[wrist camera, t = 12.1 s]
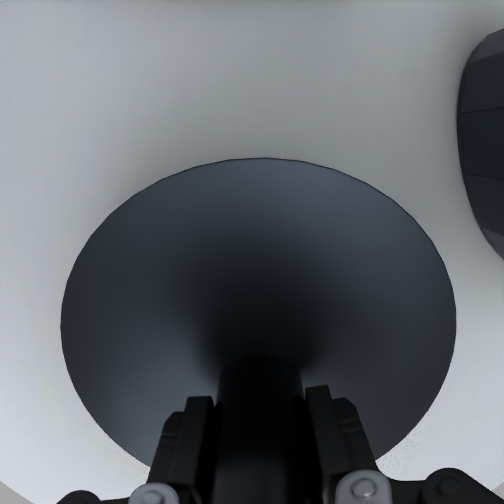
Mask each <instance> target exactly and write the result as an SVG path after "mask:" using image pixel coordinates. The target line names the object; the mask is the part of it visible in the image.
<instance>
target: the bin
mask: <svg viewBox="0 0 504 504" xmlns="http://www.w3.org/2000/svg"><path fill="white" fill-rule="evenodd" d="M457 130H458V146H459V155H460V163H461V168H462V173H463V179H464V183H465V187H466V191H467V195H468V199H469V202H470V204H471V207H472V210H473V213H474V216H475V218H476V220H477V222H478V224H479V227H480V229H481V231H482V232H483V234H484V236H485V237H486V239H487V241H488V242H489V244H490V245H491V246H492V247H493V249H494V250H495V251H496V252H497V253H498V254H499V255H500V256H501V257H502V258H503V260H504V29H502V30H499V31H497V32H494V33H492V34H490V35H488V36H487V37H486V38H485V39H484V40H483V41H482V42H480V44H479V45H478V46H477V47H476V48H475V49H474V51H473V52H472V54H471V56H470V58H469V60H468V62H467V64H466V67H465V70H464V73H463V76H462V81H461V85H460V90H459V99H458V114H457Z"/></svg>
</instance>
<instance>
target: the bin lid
mask: <svg viewBox="0 0 504 504" xmlns="http://www.w3.org/2000/svg"><path fill="white" fill-rule="evenodd" d="M60 329H61V340H62V350H63V354H64V358H65V362H66V366H67V370H68V373H69V375H70V378H71V380H72V383H73V385H74V388H75V390H76V392H77V394H78V395H79V397H80V399H81V401H82V403H83V404H84V406H85V408H86V409H87V410H88V412H89V413H90V415H91V416H92V417H93V419H94V420H95V421H96V423H97V424H98V425H99V426H100V427H101V428H102V429H103V430H104V432H105V433H106V434H107V435H108V436H109V437H110V438H111V439H112V440H113V441H114V442H116V443H117V444H118V445H119V446H120V447H121V448H123V449H124V450H125V451H126V452H128V453H129V454H130V455H132V456H133V457H135V458H136V459H137V460H139V461H140V462H142V463H144V464H145V465H147V466H149V467H151V466H152V462H153V459H154V455H155V452H156V449H157V446H158V442H159V439H160V436H161V432H162V429H163V426H164V423H165V421H166V420H167V419H168V418H169V417H170V415H171V414H172V413H173V412H174V411H184V409H185V405H186V401H187V398H188V397H189V396H211V397H212V399H213V402H214V406H215V409H214V416H213V422H212V429H211V436H210V443H209V449H208V456H207V463H206V470H205V477H204V484H203V491H202V498H201V504H324V501H323V495H322V491H321V485H320V479H319V473H318V468H317V462H316V457H315V451H314V446H313V440H312V435H311V429H310V424H309V419H308V413H307V408H306V403H305V388H306V387H313V386H320V385H328V387H329V390H330V393H331V396H332V399H337V398H342V397H346V398H347V399H348V400H349V401H350V402H351V403H353V404H354V405H355V406H356V409H357V412H358V414H359V417H360V421H361V423H362V425H363V429H364V431H365V434H366V436H367V439H368V442H369V445H370V448H371V451H372V453H373V456H374V459H375V461H376V460H377V459H379V458H380V457H381V456H383V455H384V454H386V453H387V452H388V451H390V450H391V449H392V448H393V447H395V446H396V445H397V444H398V443H399V442H400V441H402V440H403V439H404V438H405V437H406V436H407V435H408V434H409V433H410V432H411V431H412V429H413V428H414V427H415V426H416V425H417V424H418V423H419V421H420V420H421V419H422V418H423V416H424V415H425V414H426V412H427V411H428V410H429V408H430V407H431V405H432V403H433V402H434V400H435V398H436V396H437V395H438V393H439V391H440V389H441V387H442V385H443V382H444V380H445V378H446V375H447V373H448V370H449V366H450V363H451V359H452V356H453V352H454V345H455V338H456V306H455V300H454V294H453V289H452V285H451V282H450V279H449V276H448V273H447V270H446V267H445V265H444V262H443V260H442V258H441V257H440V255H439V253H438V251H437V249H436V247H435V246H434V244H433V242H432V240H431V239H430V238H429V237H428V235H427V234H426V233H425V232H424V230H423V229H422V228H421V226H420V225H419V224H418V223H417V222H416V220H415V219H414V218H413V217H412V216H411V215H409V214H408V213H407V212H406V211H405V210H404V209H403V208H402V207H401V206H399V205H398V204H397V203H396V202H395V201H394V200H393V199H391V198H389V197H388V196H386V195H385V194H383V193H382V192H380V191H379V190H377V189H375V188H374V187H372V186H371V185H369V184H367V183H366V182H363V181H361V180H359V179H357V178H354V177H352V176H350V175H347V174H345V173H343V172H340V171H338V170H335V169H331V168H328V167H324V166H320V165H316V164H312V163H308V162H304V161H297V160H288V159H277V158H266V157H265V158H245V159H229V160H224V161H219V162H215V163H210V164H205V165H201V166H196V167H193V168H190V169H187V170H184V171H182V172H179V173H176V174H174V175H171V176H169V177H166V178H163V179H161V180H159V181H158V182H156V183H154V184H152V185H151V186H149V187H147V188H145V189H144V190H142V191H140V192H138V193H137V194H135V195H133V196H132V197H131V198H129V199H128V200H127V201H126V202H124V203H123V204H122V205H121V206H120V207H118V208H117V209H116V210H115V211H113V212H112V213H111V214H110V215H109V216H108V217H107V218H106V219H105V220H104V221H103V223H102V224H101V225H100V226H99V227H98V228H97V229H96V230H95V232H94V233H93V234H92V235H91V236H90V238H89V239H88V241H87V243H86V244H85V246H84V247H83V249H82V251H81V252H80V254H79V255H78V257H77V259H76V261H75V264H74V266H73V268H72V271H71V273H70V276H69V278H68V281H67V284H66V289H65V293H64V297H63V302H62V309H61V325H60Z"/></svg>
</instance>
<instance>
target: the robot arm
mask: <svg viewBox="0 0 504 504" xmlns="http://www.w3.org/2000/svg"><path fill="white" fill-rule="evenodd" d="M305 403H306V408H307V413H308V419H309V424H310V429H311V435H312V440H313V446H314V451H315V457H316V462H317V468H318V473H319V479H320V485H321V491H322V495H323V501H324V504H504V500H503V499H502V498H500V497H499V496H497V495H496V494H495V493H493V492H492V491H490V490H489V489H487V488H486V487H484V486H483V485H482V484H480V483H479V482H477V481H476V480H474V479H473V478H472V477H470V476H469V475H467V474H466V473H465V472H463V471H461V470H459V469H456V468H443V469H439V470H437V471H435V472H433V473H432V474H430V475H429V476H428V477H427V478H426V480H419V481H399V480H394V479H391V478H389V477H387V476H385V475H384V474H383V473H382V472H381V471H380V470H379V469H378V467H377V465H376V462H375V459H374V456H373V453H372V451H371V448H370V445H369V442H368V439H367V436H366V434H365V431H364V429H363V425H362V423H361V421H360V417H359V414H358V412H357V409H356V406H355V405H354V404H353V403H351V402H350V401H349V400H348V399H347V398H346V397H342V398H337V399H332V396H331V393H330V390H329V387H328V385H320V386H313V387H306V388H305ZM214 409H215V406H214V402H213V399H212V397H211V396H189V397H188V398H187V401H186V405H185V409H184V411H174V412H173V413H172V414H171V415H170V417H169V418H168V419H167V420H166V421H165V423H164V426H163V429H162V432H161V436H160V439H159V442H158V446H157V449H156V452H155V455H154V459H153V462H152V466H151V469H150V472H149V476H148V479H147V482H146V484H144V485H141V486H139V487H138V488H136V489H135V490H134V491H133V492H132V494H131V495H130V497H127V498H121V499H112V500H102V501H101V500H100V499H99V498H98V497H97V496H96V495H95V494H93V493H92V492H89V491H85V490H77V491H73V492H71V493H69V494H67V495H66V496H65V497H63V498H62V499H61V500H60V501H59V502H58V503H57V504H201V498H202V491H203V484H204V477H205V470H206V463H207V456H208V449H209V443H210V436H211V429H212V422H213V416H214Z"/></svg>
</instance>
